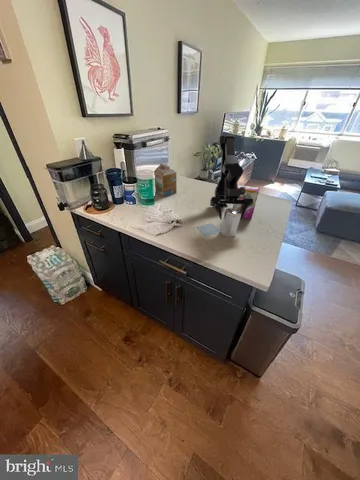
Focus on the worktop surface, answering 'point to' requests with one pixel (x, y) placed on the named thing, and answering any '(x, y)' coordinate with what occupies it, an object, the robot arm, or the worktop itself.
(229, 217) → the white can
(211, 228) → the slate mat
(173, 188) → the milk carton
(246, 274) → the worktop surface
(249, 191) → the candy bar box
